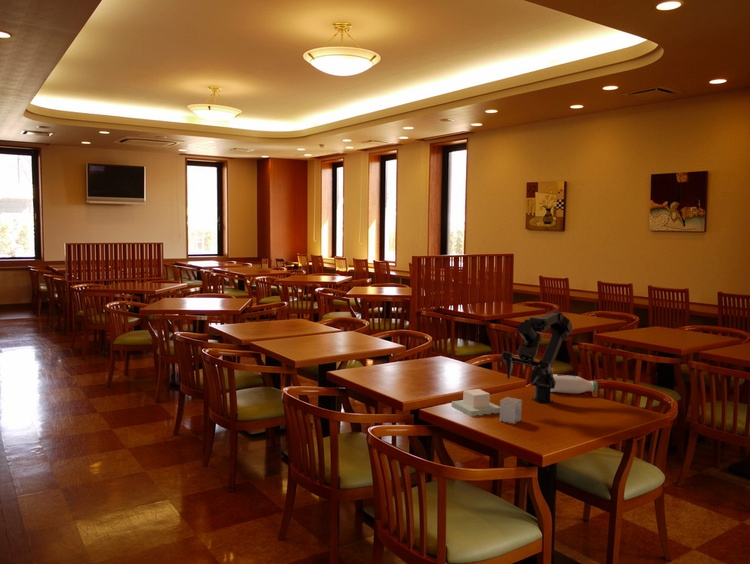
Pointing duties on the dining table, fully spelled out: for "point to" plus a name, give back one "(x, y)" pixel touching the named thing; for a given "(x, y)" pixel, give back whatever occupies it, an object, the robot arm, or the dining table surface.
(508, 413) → the steel tin
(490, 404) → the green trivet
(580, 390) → the milk bottle
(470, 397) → the cream lid
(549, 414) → the dining table surface
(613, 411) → the dining table surface
